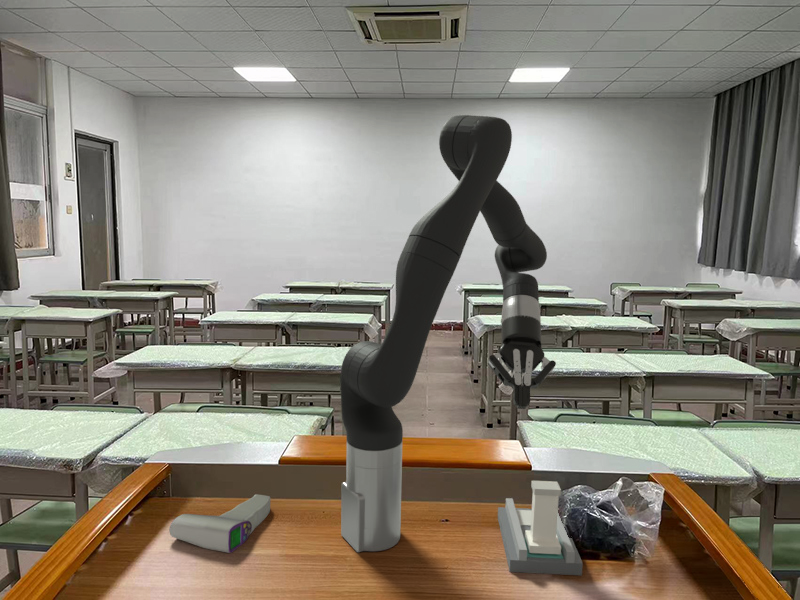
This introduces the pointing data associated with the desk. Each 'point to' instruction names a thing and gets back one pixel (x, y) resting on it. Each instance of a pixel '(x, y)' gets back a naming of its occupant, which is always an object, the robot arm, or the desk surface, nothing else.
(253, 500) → the infrared thermometer
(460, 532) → the desk surface
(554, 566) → the switch panel
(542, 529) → the switch tab
